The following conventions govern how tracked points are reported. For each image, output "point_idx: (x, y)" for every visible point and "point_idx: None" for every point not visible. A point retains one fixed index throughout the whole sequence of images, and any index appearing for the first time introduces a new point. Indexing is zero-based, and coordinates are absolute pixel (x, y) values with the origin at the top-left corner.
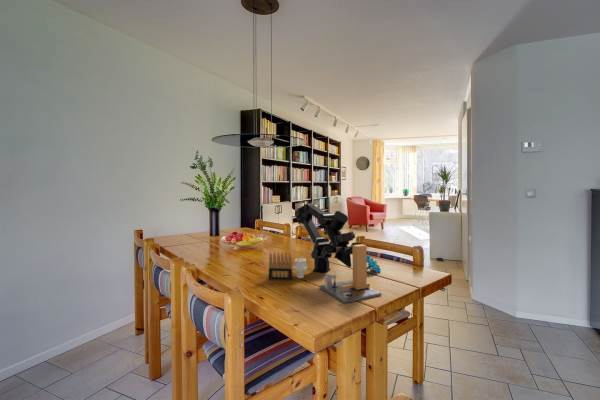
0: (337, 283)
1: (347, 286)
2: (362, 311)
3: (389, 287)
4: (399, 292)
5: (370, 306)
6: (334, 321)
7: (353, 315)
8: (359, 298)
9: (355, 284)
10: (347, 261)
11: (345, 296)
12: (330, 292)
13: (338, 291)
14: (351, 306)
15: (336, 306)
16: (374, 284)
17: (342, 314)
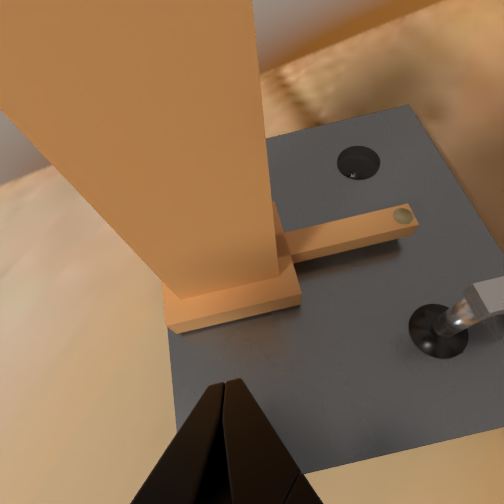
0: (391, 420)
1: (350, 219)
2: (341, 52)
3: (20, 276)
4: (38, 194)
5: (285, 83)
6: (483, 4)
7: (391, 31)
8: (309, 132)
9: (275, 230)
10: (258, 428)
11: (389, 152)
12: (487, 230)
13: (420, 230)
14: (376, 91)
15: (456, 98)
16: (63, 361)
17: (439, 40)
